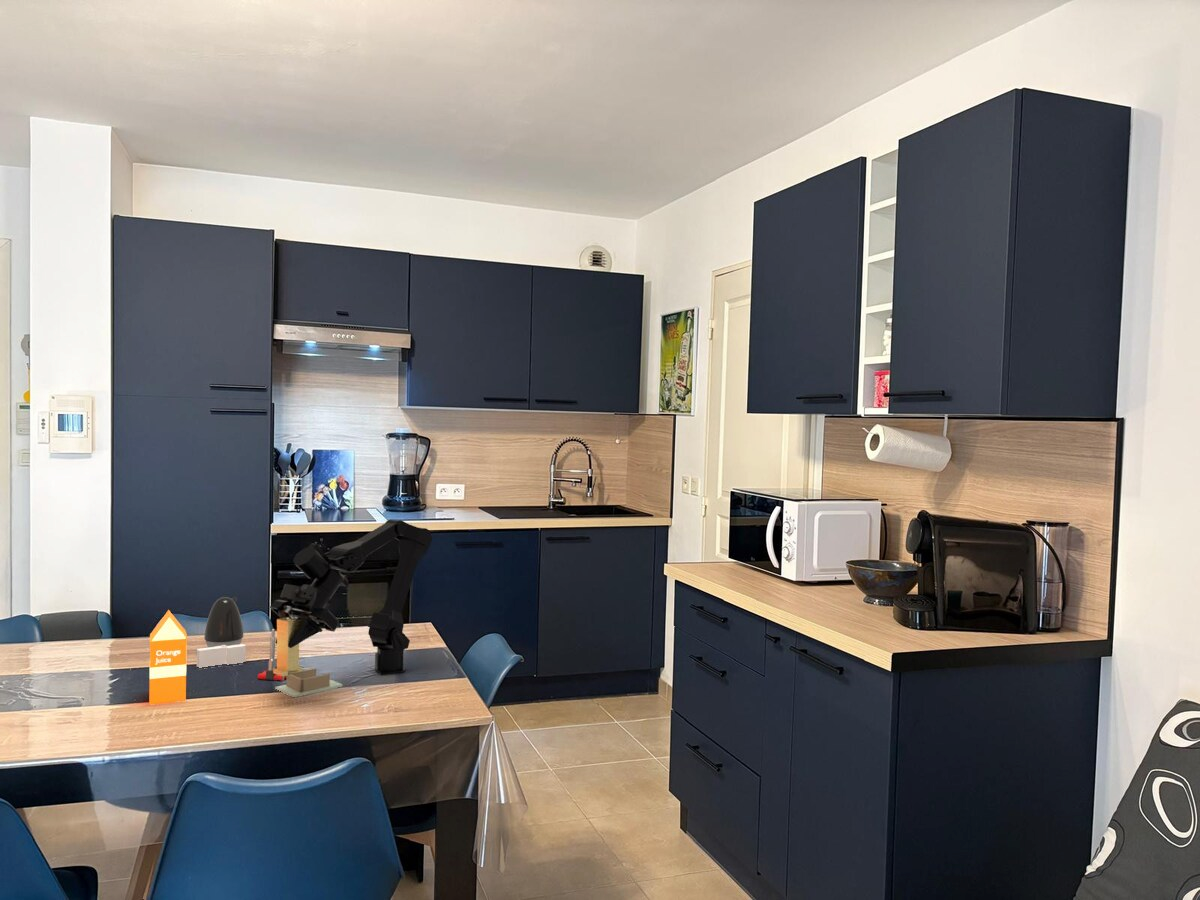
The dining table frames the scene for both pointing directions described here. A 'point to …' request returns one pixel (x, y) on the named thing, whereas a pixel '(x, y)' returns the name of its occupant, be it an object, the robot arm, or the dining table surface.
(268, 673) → the tow hook
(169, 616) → the orange juice
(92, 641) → the dining table surface
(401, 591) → the robot arm
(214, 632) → the black rounded cone
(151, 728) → the dining table surface
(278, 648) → the gold square pillar
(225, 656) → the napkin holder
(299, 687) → the pale green slotted base
